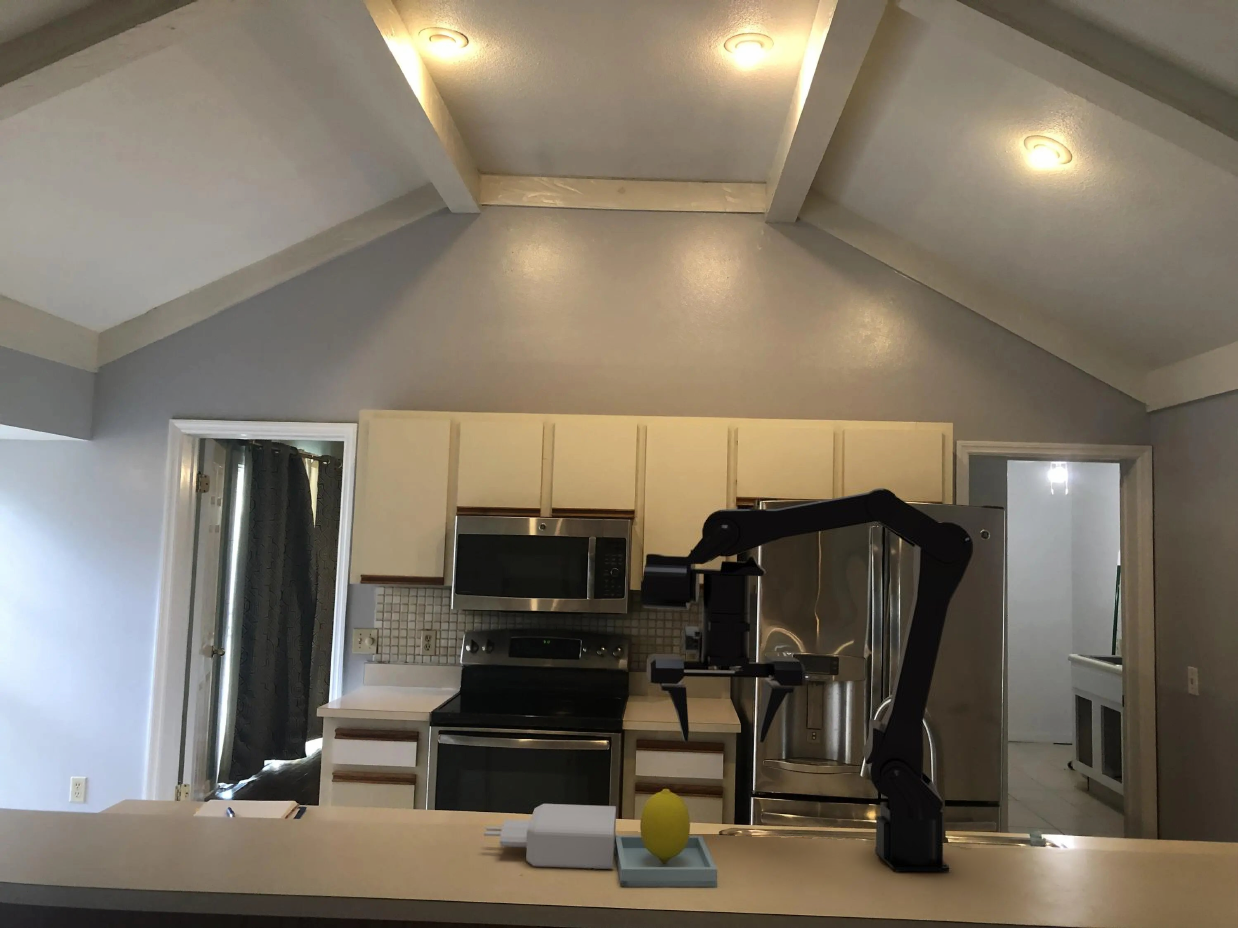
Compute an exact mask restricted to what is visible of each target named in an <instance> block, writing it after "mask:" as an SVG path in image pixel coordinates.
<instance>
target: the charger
mask: <svg viewBox="0 0 1238 928" xmlns="http://www.w3.org/2000/svg"><path fill="white" fill-rule="evenodd" d="M616 819H617V806H615V805H612V806H611V805H589V804H587V805H586V804H585V805H584V804H583V805H582V804H565V803H563V804H561V803H560V804H559V803H558V804H557V803H555V804H554V803H542V804H540V805H539V806H537V807H535V808H534V810H533V812H532V815H531V816H530V819H528V820H526V819H504V822H503V824H502V826H486V831H484V832H483V836H485V837H499V845H500V846H501V847H504V848H505V847H507V848H508V847H509V848H510V847H511V848H513V847H514V848H526V855H525V856H526V857H525V859H526V860H525V861H527V862H528V863H529V864H530V865H532V866H533V867H539V868H540V867H542V868H567V869H568V868H569V869H570V868H571V869H591V868H593V869H596V870H613V869H614V859H615V835H616V823H617V820H616Z"/></svg>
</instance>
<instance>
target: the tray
mask: <svg viewBox="0 0 1238 928" xmlns="http://www.w3.org/2000/svg"><path fill="white" fill-rule="evenodd" d="M614 849H615V850H614V856H615V860H616V866H617V872H618V879H619V883H620V887H621V888H681V887H682V888H717V887H718V868H717V864H716V863H715V861H714V859H713V856H712V854H711V852H710V851H709V848H708V846H707V842H705V839H704V837H703V835H689V839H688V842H687V845H686V846H685V848H684V849H683V851H682V852H681V853H680V854H678V855H677V856H675V857H672V858H671V859H670V860H669V861H668V862H667V863H662V862H661V861H660V860H659V858H658V857H656V856H654V855H652V854H651V853H650V852H649V851H648V850H647V849H646V847H645V845H644V843H643V841H642V837H641V835H620V834H619V835H616V834H615V844H614Z"/></svg>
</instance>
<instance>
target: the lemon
mask: <svg viewBox="0 0 1238 928" xmlns="http://www.w3.org/2000/svg"><path fill="white" fill-rule="evenodd" d="M687 807H688V806H687V805H686V803H685V802H684V800H683V799H682V798H681V797H680V796H679V795H677V794H676V793H674V792H672V791H671V790H670V789H668V788H664V789H662V790H661V791H659V792H655V794H653V795H651V797H649V798H648V799H647V801H646V802H645V804H644V806H643V809H642V812H641V814H640V815H641V817H640V824H639V825H640V828H639V829H640V836H641V837H642V841H643V843H644V845H645V847H646V849H647V850H648V851H649V852H650V853H651V854H652V855H654V856H656V857H658V858H659V860H660V861H661V862H662V863H667V862H668V861H669V860H670V859H671V858H672V857H675V856H677V855H678V854H680V853H681V852H682V851H683V849H684V848H685V846H686V845H687V842H688V839H689V836H690V833H691V832H690V831H691V821H690V820H691V819H690V814H689V811H688V808H687Z"/></svg>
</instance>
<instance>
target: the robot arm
mask: <svg viewBox="0 0 1238 928" xmlns="http://www.w3.org/2000/svg"><path fill="white" fill-rule="evenodd" d="M869 523H878V524H880V526H882V527H884V528H885V529H886V530H888V531H889V532H890V533H892V534H893V535H895V536H896V537H898V538H899V539H901V540H902V541H903V542H905V543H907V544H908V545H909V546H911V547H913V564H912V566H913V598H912V603H911V606H910V612H909V614H908V615H909V616H908V620H907V625H906V629H905V633H904V638H903V642H902V643H903V644H902V647H901V651H900V655H899V656H900V657H899V661H898V665H897V671H896V674H895V679H894V682H893V688H892V691H891V692H892V693H891V697H890V701H889V705H888V709H887V710H886V712H885V714H884V716H883V718H882V719H881V721H878V720H876V719H874V718H872V717H871V718H869V722H868V737H867V740H866V742H865V744H864V745H863V747H862V749H861V750H862V753H863V759H864V763H865V765H867V769H868V773H869V776H870V780H871V783H872V784H873V786H874V788H875V789H876V791H878V792H879V793H880V794H881V795H882V796H884V797H886V798H887V799H888V800H887V801H881V802H880V815H877V816H876V817H875V829H876V830H875V847H874V852H875V853H876V854H877V855H878V856H879V857H880V858H881V859H882V860H883V862H885V864H886V865H887V866H889V867H890V868H891V869H892V871H895V872H949V871H950V865H949V864H948V863H946V862H945V861H944V810H942V808H943V806H944V802H943V800H942V798H941V795H940V794H939V792H938V790H937V787H936V786H935V784H934V781H933V780H932V779H931V778H930V777H929V776H928V775H927V774H926V773H925V771H924V755H925V754H924V753H925V752H924V751H925V750H924V749H925V747H924V717H925V713H926V709H927V704H928V699H929V694H930V691H931V687H932V686H931V685H932V681H933V677H934V672H935V668H936V662H937V657H938V654H939V650H940V645H941V641H942V636H943V631H944V627H945V622H946V617H947V614H948V609H949V605H950V602H951V600H952V598H953V597H954V595H955V593H956V591H957V589H958V588H959V586H960V584H961V583H962V580H963V578H964V576H965V574H966V570H967V569H968V566H969V564H970V562H971V559H972V557H973V555H974V554H973V553H974V543H973V539H972V537H971V536H970V534H969V533H968V532H967V530H966V529H965V528H963V527H962V526H961V525H958V524H957V523H953V522H947V521H937V520H935V518H932V516H930V515H928V514H926V513H924V512H923V511H921V510H919V509H917V508H916V507H914V506H912V505H911V504H909V503H907V502H906V501H904V500H903V499H901V498H899V497H898V496H897V495H896V494H895V493H894V492H893V491H891V490H889V489H886V488H884V487H882V488H875V489H873V490H870V491H868V492H862V493H858V494H852V495H847V496H842V497H836V498H835V497H834V498H830V499H824V500H819V501H813V502H809V503H803V504H798V505H797V504H796V505H791V506H786V507H782V508H771V509H769V508H766V509H765V508H760V509H759V508H746V509H745V508H744V509H743V508H738V509H737V508H736V509H734V508H731V509H727V508H725V509H719V510H716V511H714V512H712V513H711V514H709V515H708V516H707V518H706V520H705V521H704V523H703V527H702V529H701V533H702V534H701V535H702V537H701V539H699V541H698V543H697V544H695V546H694V547H693V548H692V549H690V552H689V553H688V555H687V556H686V555H685V556H683V555H664V554H660V553H647V554H646V556H645V565H644V569H643V573H642V574H643V575H642V580H640V599H641V605H642V607H643V608H644V609H661V610H677V611H679V610H680V611H681V610H683V611H688V610H689V609H690V606H691V602H692V603H698V601H699V597H700V575H703V577H702V579H703V580H702V582H703V583H702V615H701V616H702V617H701V619H702V621H701V630H699V626H696V625H695V626H694V625H693V626H692V625H691V626H690V625H687V626H686V625H684V626H683V628H682V640H681V642H682V652H683V654H696V660H684V658H682V656H681V655H680V654H679V653H651V654H649V656H648V657H647V659H646V677H647V679H648V681H649V682H650V683H652V684H657V686H658V687H659V688H660V690H661V692H663V691H664V692H668V694H669V697H670V699H671V702H672V705H673V707H674V710H675V714H676V717H677V720H678V723H679V728H680V730H681V734H682V738H683V741H684V742H685V743H688V742H689V735H690V733H689V732H690V727H689V726H690V725H689V714H688V713H689V711H688V697H687V695H688V694H687V687H686V685H685V684H684V683H683V680H684V678H685V677H696V678H698V677H699V678H700V677H701V678H706V677H707V678H754V679H755V678H759V679H760V678H761V679H760V689H761V690H760V691H761V692H760V693H761V696H760V697H761V698H760V706H759V714H758V715H759V716H758V726H757V727H758V728H757V735H758V742H759V743H760V744H763V743H764V742H765V739H766V737H767V735H768V732H769V730H770V728H771V726H772V722H773V721H774V718H775V716H776V713H778V710H779V708H780V707H781V705H782V703H783V701H784V700H785V698H786V696H787V694H794V693H795V687H803V686H806V677H807V675H806V673H807V672H806V666H805V664H803V663H802V662H801V660H798V659H797V658H795V657H793V656H792V655H764V658H763V661H761V662H760V661H757V662H755V661H750V656H749V653H750V652H749V651H750V632H751V622H750V597H751V596H750V594H751V577H763V576H765V575H766V573H767V571H766V569H765V568H764V567H763V566H761V565H760V564H759V563H758V561H757V559H756V557H755V556H754V555H751V556H750V557H749V558H748V559H747V560H746V561H734V560H733V561H731V560H730V561H727V560H722V561H721V565H720V568H697V567H696V565H705V564H708V563H710V562H712V561H714V560H716V558H718V557H725V558H726V557H733V556H737V555H740V554H741V553H744V552H748V551H750V550H752V549H755V548H759V547H762V546H764V545H766V544H769V543H772V542H775V541H777V540H780V539H782V538H783V539H784V538H790V537H795V536H801V535H806V534H811V533H812V534H813V533H817V532H818V533H819V532H823V531H824V532H825V531H829V530H834V529H840V528H846V527H851V526H858V525H862V524H863V525H864V524H869ZM711 667H714V668H711ZM762 678H763V679H762Z"/></svg>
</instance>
